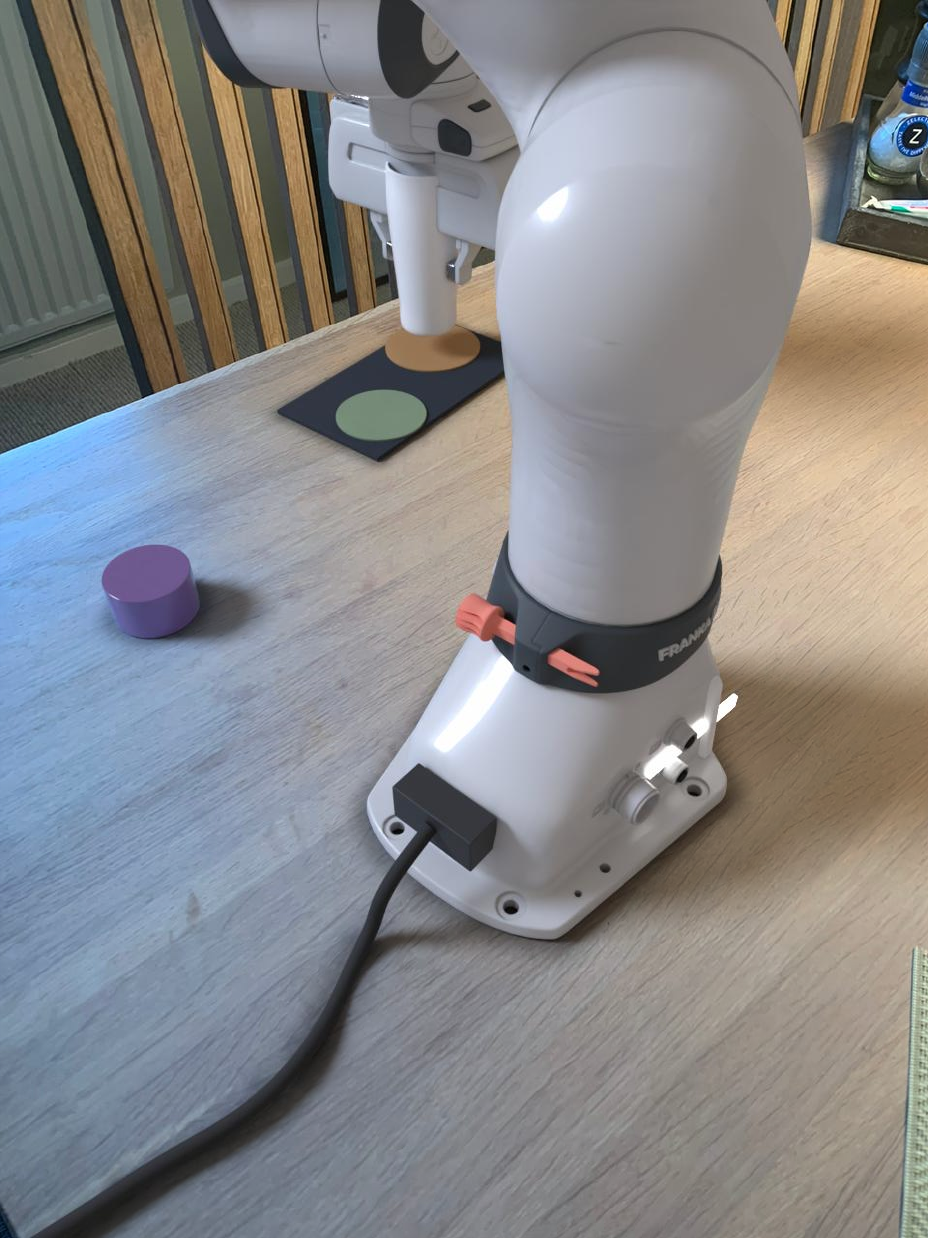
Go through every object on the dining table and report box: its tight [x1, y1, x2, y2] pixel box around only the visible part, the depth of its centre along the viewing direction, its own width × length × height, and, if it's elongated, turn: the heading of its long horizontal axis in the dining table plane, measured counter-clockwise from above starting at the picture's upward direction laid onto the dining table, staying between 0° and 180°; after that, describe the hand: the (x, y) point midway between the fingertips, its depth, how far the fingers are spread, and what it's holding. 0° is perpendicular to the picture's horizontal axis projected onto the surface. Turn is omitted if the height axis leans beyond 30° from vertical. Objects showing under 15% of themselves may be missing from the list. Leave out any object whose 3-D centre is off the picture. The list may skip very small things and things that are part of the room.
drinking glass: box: [385, 161, 461, 337], centre depth 89 cm, size 7×7×15 cm
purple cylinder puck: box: [100, 544, 201, 639], centre depth 69 cm, size 6×6×4 cm
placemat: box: [276, 323, 505, 462], centre depth 92 cm, size 22×13×1 cm, turn 142°
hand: (427, 269), depth 90 cm, fingers closed on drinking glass, 6 cm apart
